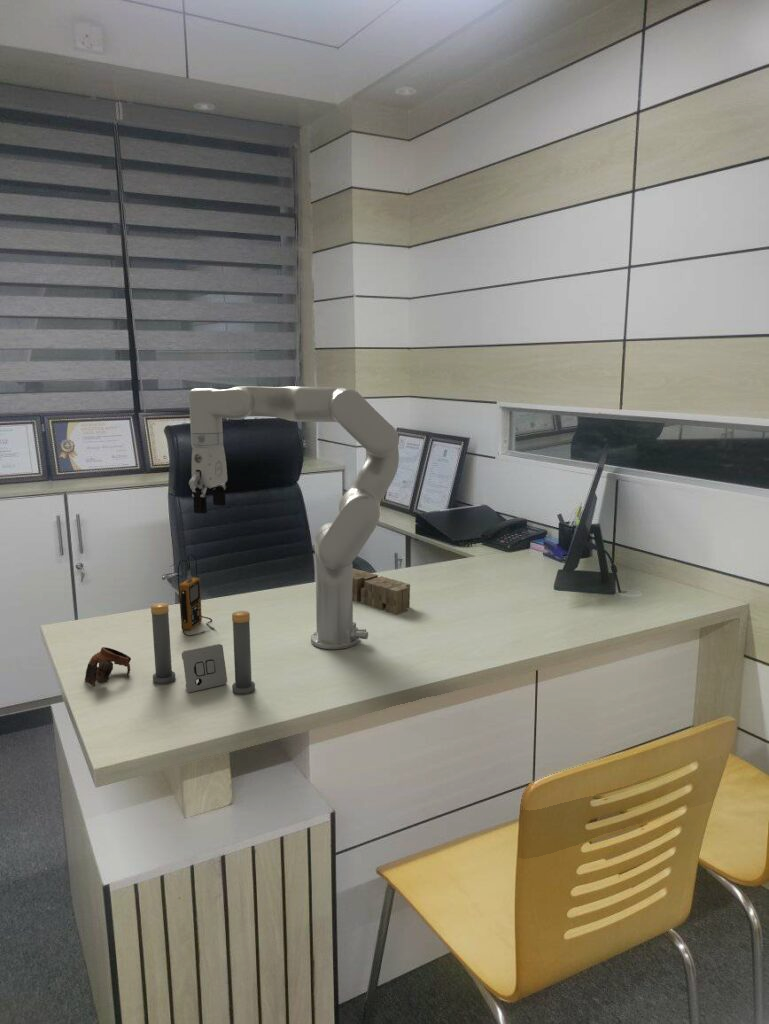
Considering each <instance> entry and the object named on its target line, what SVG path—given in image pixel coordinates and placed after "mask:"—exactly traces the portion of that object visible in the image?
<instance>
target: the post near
mask: <svg viewBox="0 0 769 1024" xmlns="http://www.w3.org/2000/svg"><path fill="white" fill-rule="evenodd" d="M250 614H251V613H250V612H249V611H246V610H239V611H238V610H237V611H235V612H232V613H231V622H232V631H233V632H232V633H233V634H232V635H233V636H232V637H233V640H232V641H233V658H234V659H233V660H234V682H233V684H232V686H231V688H232V690H231V691H232V693H233V694H234V695H238V696H245V695H246V694H247V695H250V694H253V693H254V692H255V691H256V683H255V682H254V681H253V680H252V659H251V656H252V655H251V654H252V653H251V631H250V630H251V629H250V628H251V626H250V620H251V617H250V616H251V615H250ZM254 690H255V691H254Z"/></svg>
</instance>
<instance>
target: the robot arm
mask: <svg viewBox="0 0 769 1024" xmlns="http://www.w3.org/2000/svg"><path fill="white" fill-rule="evenodd" d="M188 402H189V403H188V406H189V422H190V443H191V448H192V450H191V478H190V479H189V481H188V485H189V487H190V492H191V496H192V500H193V512H194V513H195V514H207V513H208V502H207V501H208V500H207V496H206V493H207V490H208V489H212V504H213V506H221V507H222V506H226V503H227V501H226V488H227V486H226V483H227V482H228V470H227V469H228V467H227V459H226V452H225V447H224V436H223V434H224V433H223V432H224V431H223V430H224V429H223V419H229V420H237V421H238V420H244V419H245V418H247V417H263V418H264V417H269V418H279V419H283V420H286V421H290V422H297V423H298V422H299V423H301V422H302V423H303V422H307V423H312V422H313V423H338V424H339V425H340V426H341V427H342V428H343V429H344V430H345V431H346V432H347V434H349V435H350V436H351V437H352V438H353V439H354V440H355V441H356V442H358V443H359V445H361V446H362V447H363V449H364V450H365V460H364V462H363V464H362V465H361V469H360V470H359V471H358V473H357V475H356V477H355V479H353V482H351V484H350V485H349V487H348V488H347V490H346V491H345V493H344V494H343V495H342V497H341V499H340V500H339V502H338V503H339V504H338V511H339V512H338V514H337V516H336V517H335V519H334V521H331V522H327V523H325V524H324V523H323V524H322V526H320V528H318V530H317V532H316V534H315V536H314V557H315V561H314V562H315V563H314V564H315V609H316V613H315V614H316V615H315V617H316V631H315V632H313V633H312V634H311V636H310V642H311V644H312V645H314V646H315V647H317V648H320V649H323V650H326V649H327V650H341V649H342V650H343V649H347V648H351V647H353V646H355V645H357V644H358V642H359V640H361V639H362V640H368V638H369V632H368V631H367V629H366V628H358V627H357V622H354V618H353V617H354V615H353V612H354V611H353V610H354V609H353V608H354V606H353V602H354V601H353V562H354V560H355V559H356V558H357V557H358V555H359V554H360V552H361V551H362V549H363V548H364V546H365V545H366V543H367V542H368V541H369V539H370V537H371V535H372V534H373V533H374V531H375V529H376V527H377V526H378V524H379V521H380V518H381V517H380V515H381V512H380V510H381V509H380V506H379V504H380V503H381V501H382V500H383V498H384V496H385V495H386V493H387V491H388V490H389V488H390V486H391V485H392V483H393V481H394V478H395V477H396V474H397V471H398V469H399V464H400V463H399V461H400V455H399V454H400V452H399V444H400V437H399V433H398V432H397V430H396V428H395V427H394V425H392V424H391V423H389V422H388V420H387V419H386V418H385V417H384V416H382V415H381V414H380V412H378V411H377V409H375V408H374V407H373V406H372V405H371V404H370V403H369V402H368V401H367V399H366V398H364V396H363V395H361V394H360V393H359V392H358V391H356V390H354V389H352V388H350V387H334V386H333V387H331V386H330V387H328V386H327V387H325V386H323V387H322V386H279V387H278V386H275V387H274V386H247V385H246V386H244V385H243V386H239V385H238V386H233V387H231V388H227V389H218V388H212V387H205V388H204V387H203V388H201V387H198V388H197V387H196V388H192V389H191V390H190V391H189V392H188Z"/></svg>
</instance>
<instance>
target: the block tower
mask: <svg viewBox="0 0 769 1024" xmlns="http://www.w3.org/2000/svg"><path fill="white" fill-rule="evenodd" d="M352 568H353V567H352ZM410 600H411V584H410V583H406V582H403V581H400V580H396V579H394V578H388V577H386V576H381V575H380V576H379V575H378V574H376V573H375V574H374V573H371V572H369V571H365V570H360V569H358V568H357V569H356V568H353V602H355V603H360V604H361V605H365V606H367V607H371V608H374V609H377V610H379V611H384V610H385V612H386V613H390V614H393V615H394V616H398V615H401V614H402V613H406V612H408V609H410V603H411V601H410Z"/></svg>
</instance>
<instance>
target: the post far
mask: <svg viewBox="0 0 769 1024" xmlns="http://www.w3.org/2000/svg"><path fill="white" fill-rule="evenodd" d="M169 611H170V609H169V604H168V603H166V602H160V603H159V602H158V603H154V604H152V605H150V614H151V621H152V622H151V623H152V624H151V625H152V636H153V653H154V667H155V673H153V675H152V682H153V684H156V685H160V686H161V685H169V684H171V683H174V682H175V681H176V672H175V671H173V669H172V653H171V652H172V651H171V649H172V648H171V635H170V633H171V631H170V617H169Z"/></svg>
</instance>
